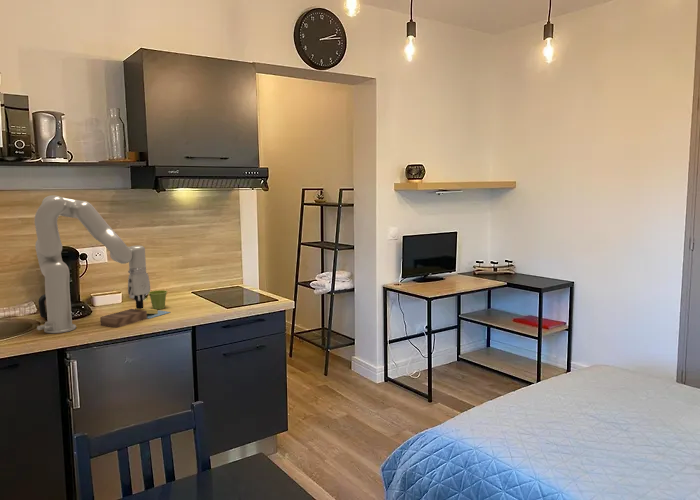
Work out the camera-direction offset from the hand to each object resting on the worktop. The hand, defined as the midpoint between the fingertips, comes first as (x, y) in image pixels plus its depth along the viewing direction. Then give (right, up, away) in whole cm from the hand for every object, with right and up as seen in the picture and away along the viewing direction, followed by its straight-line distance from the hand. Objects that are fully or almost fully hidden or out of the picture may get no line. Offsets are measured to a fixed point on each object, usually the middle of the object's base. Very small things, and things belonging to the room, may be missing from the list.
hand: (139, 308), depth 258 cm
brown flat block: (-4, -6, -8) cm, 11 cm away
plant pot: (+2, -2, +20) cm, 20 cm away
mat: (+3, -4, +7) cm, 8 cm away
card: (+2, -3, +4) cm, 5 cm away
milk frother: (-35, -6, -6) cm, 36 cm away
